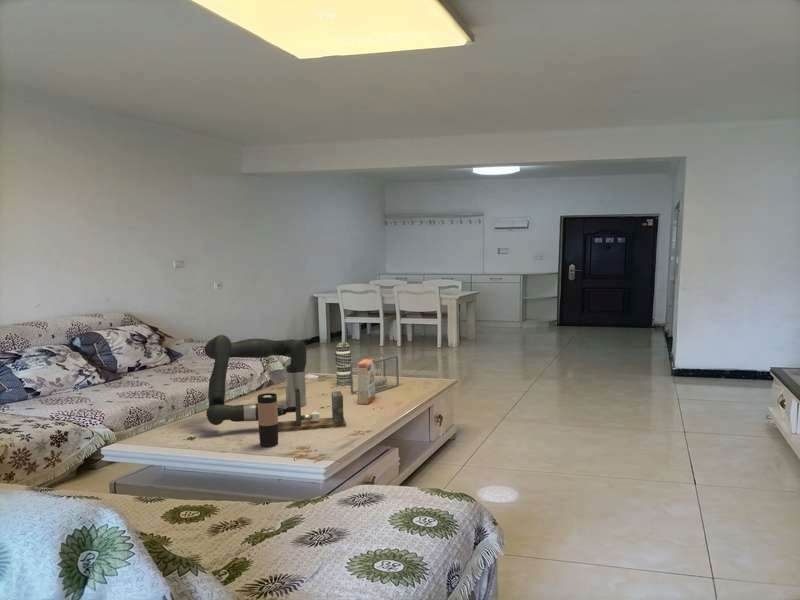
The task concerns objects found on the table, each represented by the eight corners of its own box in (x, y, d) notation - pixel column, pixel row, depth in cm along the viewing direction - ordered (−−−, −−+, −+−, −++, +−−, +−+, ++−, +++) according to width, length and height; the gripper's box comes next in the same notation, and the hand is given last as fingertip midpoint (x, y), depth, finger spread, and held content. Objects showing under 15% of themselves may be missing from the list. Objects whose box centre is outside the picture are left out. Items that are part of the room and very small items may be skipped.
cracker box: (369, 404, 302) (368, 363, 301) (357, 404, 303) (356, 363, 302) (376, 398, 316) (374, 358, 314) (364, 398, 317) (363, 358, 316)
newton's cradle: (365, 396, 320) (364, 363, 319) (350, 394, 326) (349, 361, 325) (399, 386, 344) (398, 355, 343) (384, 384, 350) (383, 353, 349)
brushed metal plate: (296, 425, 262) (295, 393, 261) (295, 419, 270) (294, 389, 269) (312, 424, 263) (311, 392, 262) (311, 418, 272) (310, 387, 271)
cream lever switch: (312, 421, 266) (312, 414, 266) (311, 417, 273) (311, 410, 272) (319, 420, 266) (319, 413, 266) (318, 416, 273) (318, 409, 273)
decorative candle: (345, 388, 341) (344, 344, 339) (332, 387, 346) (331, 343, 344) (355, 385, 348) (354, 342, 346) (342, 383, 353) (341, 341, 351)
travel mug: (260, 442, 246) (258, 393, 244) (279, 441, 246) (277, 392, 245) (258, 448, 238) (255, 397, 237) (277, 447, 239) (275, 397, 237)
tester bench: (271, 432, 259) (270, 401, 258) (271, 425, 269) (270, 395, 268) (346, 426, 265) (345, 396, 264) (343, 419, 276) (342, 390, 275)
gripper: (254, 407, 255) (295, 404, 259) (255, 400, 268) (295, 397, 272) (254, 424, 256) (296, 421, 259) (256, 416, 269) (295, 413, 272)
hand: (295, 409), depth 266 cm, fingers closed
